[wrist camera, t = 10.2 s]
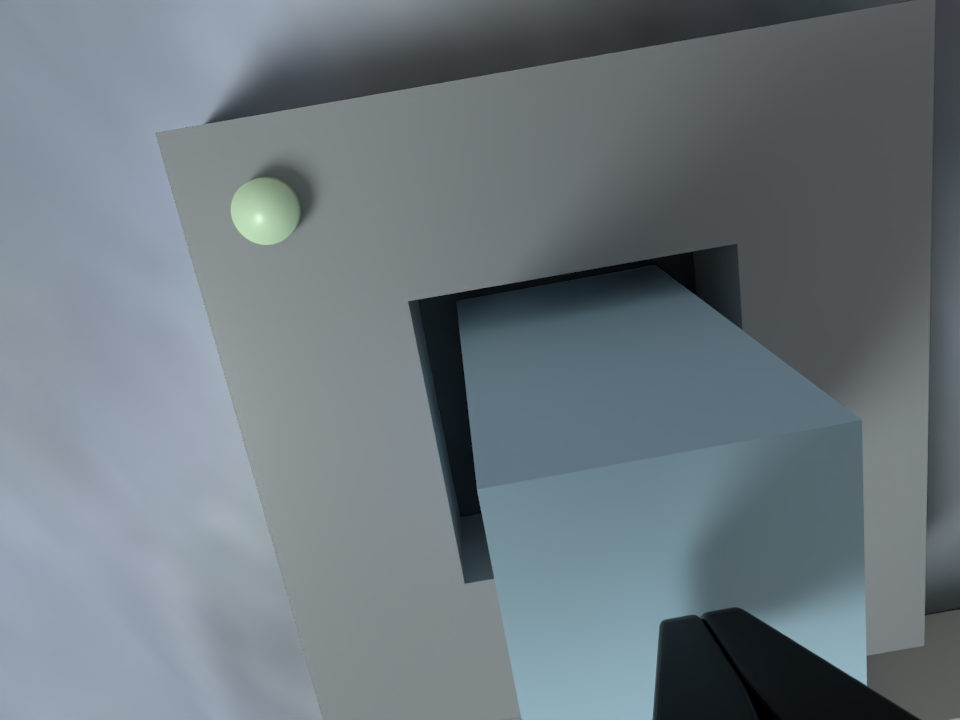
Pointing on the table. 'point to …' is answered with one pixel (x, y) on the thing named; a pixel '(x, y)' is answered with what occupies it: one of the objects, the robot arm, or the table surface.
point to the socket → (543, 253)
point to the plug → (652, 486)
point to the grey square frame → (923, 671)
